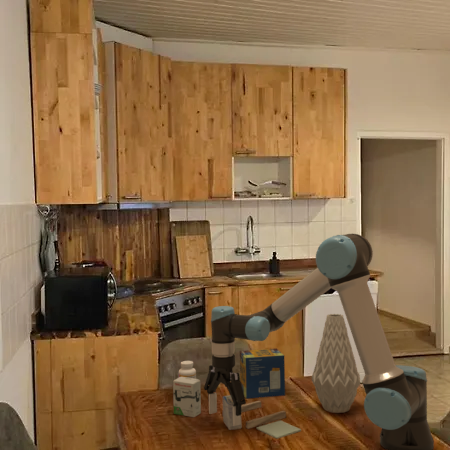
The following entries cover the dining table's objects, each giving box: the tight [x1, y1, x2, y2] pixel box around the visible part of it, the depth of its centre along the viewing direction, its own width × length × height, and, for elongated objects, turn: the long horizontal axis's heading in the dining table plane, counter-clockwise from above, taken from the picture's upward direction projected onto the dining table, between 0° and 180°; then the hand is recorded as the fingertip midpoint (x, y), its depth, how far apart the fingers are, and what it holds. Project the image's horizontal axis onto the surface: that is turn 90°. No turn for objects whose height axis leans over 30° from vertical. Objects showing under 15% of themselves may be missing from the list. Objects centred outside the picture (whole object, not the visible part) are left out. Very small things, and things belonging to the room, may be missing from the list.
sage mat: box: [256, 419, 302, 440], centre depth 185 cm, size 10×10×1 cm
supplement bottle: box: [178, 360, 197, 379], centre depth 220 cm, size 7×7×13 cm
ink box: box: [172, 376, 202, 418], centre depth 202 cm, size 9×5×12 cm, turn 62°
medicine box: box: [222, 395, 243, 431], centre depth 190 cm, size 8×4×9 cm, turn 13°
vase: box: [311, 313, 361, 414], centre depth 202 cm, size 17×17×33 cm
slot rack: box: [221, 400, 287, 430], centre depth 197 cm, size 14×16×2 cm
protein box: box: [239, 348, 286, 400], centre depth 222 cm, size 10×15×16 cm
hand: (224, 418), depth 190 cm, fingers open, 13 cm apart
